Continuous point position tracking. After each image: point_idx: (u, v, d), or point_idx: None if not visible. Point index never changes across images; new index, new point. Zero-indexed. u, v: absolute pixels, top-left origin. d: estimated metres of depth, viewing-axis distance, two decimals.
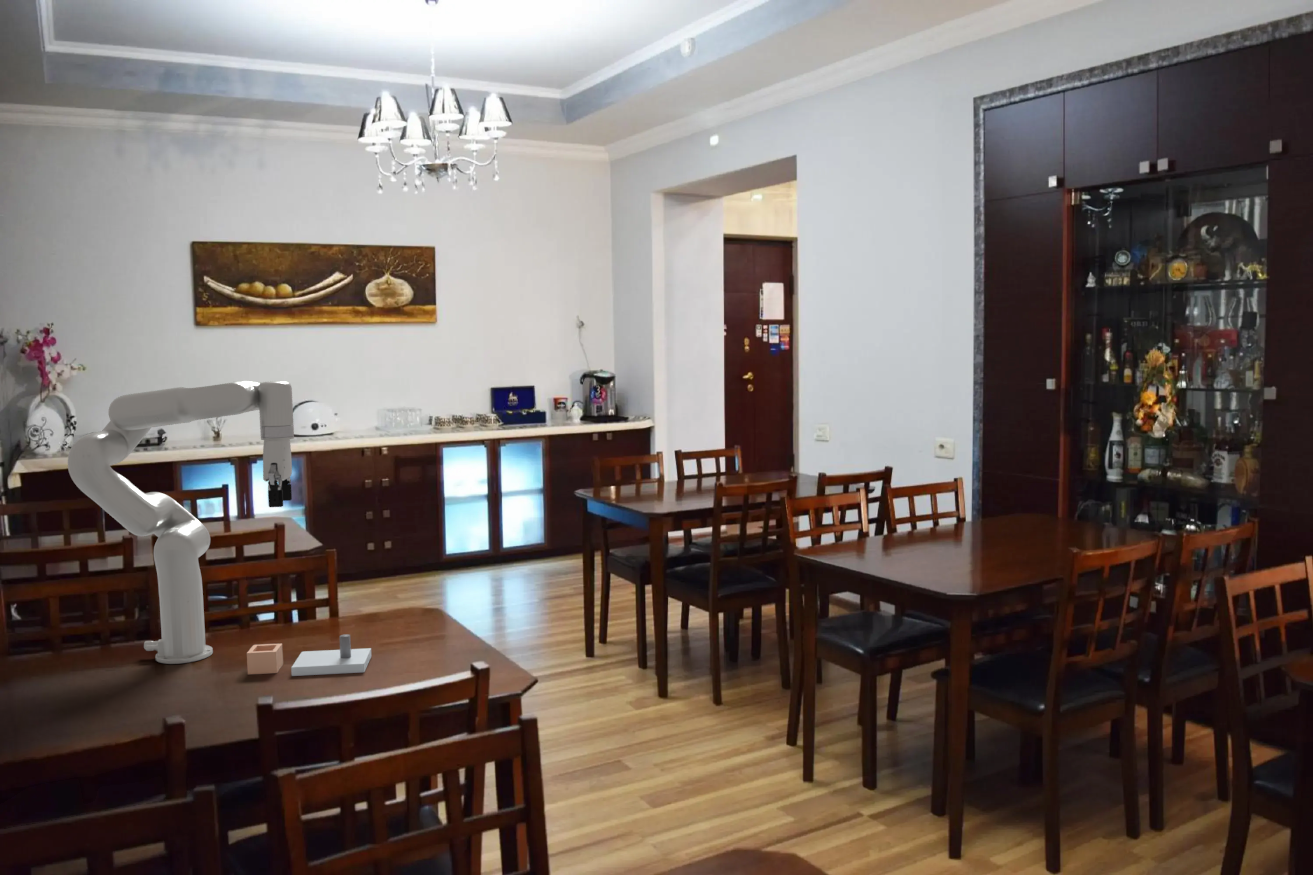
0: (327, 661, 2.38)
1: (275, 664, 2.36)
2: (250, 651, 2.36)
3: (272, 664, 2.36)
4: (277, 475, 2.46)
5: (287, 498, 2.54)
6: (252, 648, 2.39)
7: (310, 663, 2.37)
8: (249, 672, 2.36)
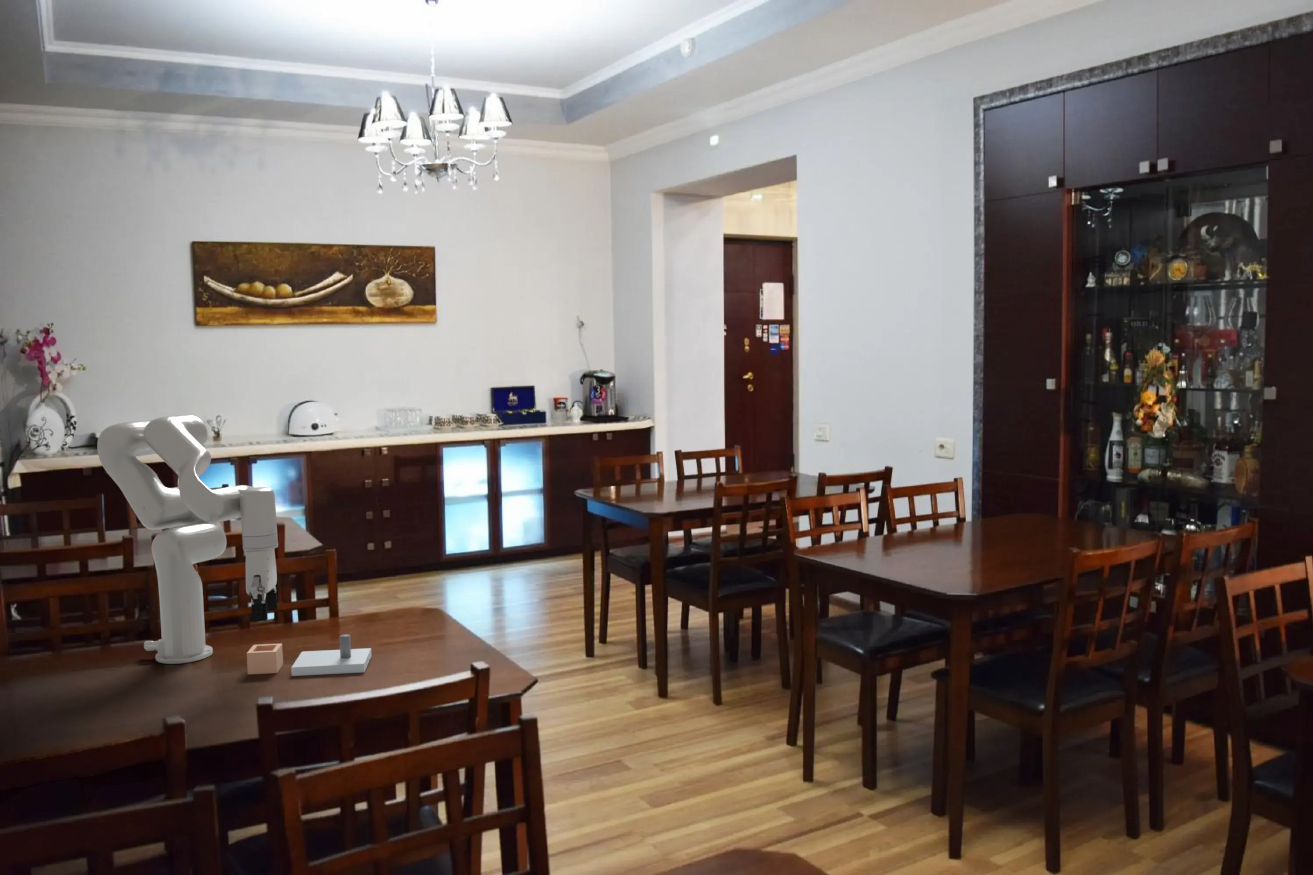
0: (327, 661, 2.38)
1: (275, 664, 2.36)
2: (250, 651, 2.36)
3: (272, 664, 2.36)
4: (261, 587, 2.34)
5: (272, 608, 2.42)
6: (252, 648, 2.39)
7: (310, 663, 2.37)
8: (249, 672, 2.36)
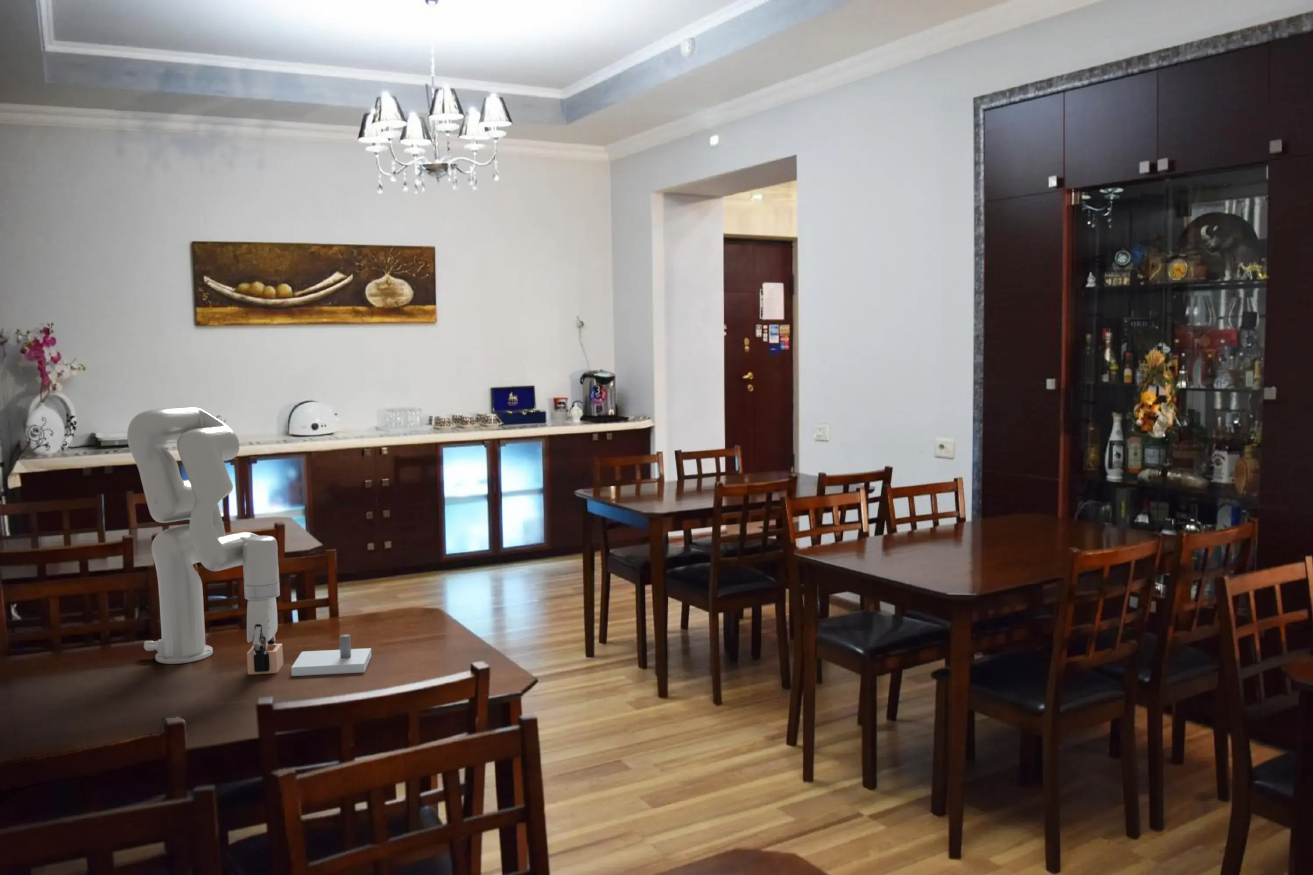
0: (327, 661, 2.38)
1: (275, 664, 2.36)
2: (250, 651, 2.36)
3: (272, 664, 2.36)
4: (262, 636, 2.35)
5: None
6: (252, 648, 2.39)
7: (310, 663, 2.37)
8: (249, 672, 2.36)
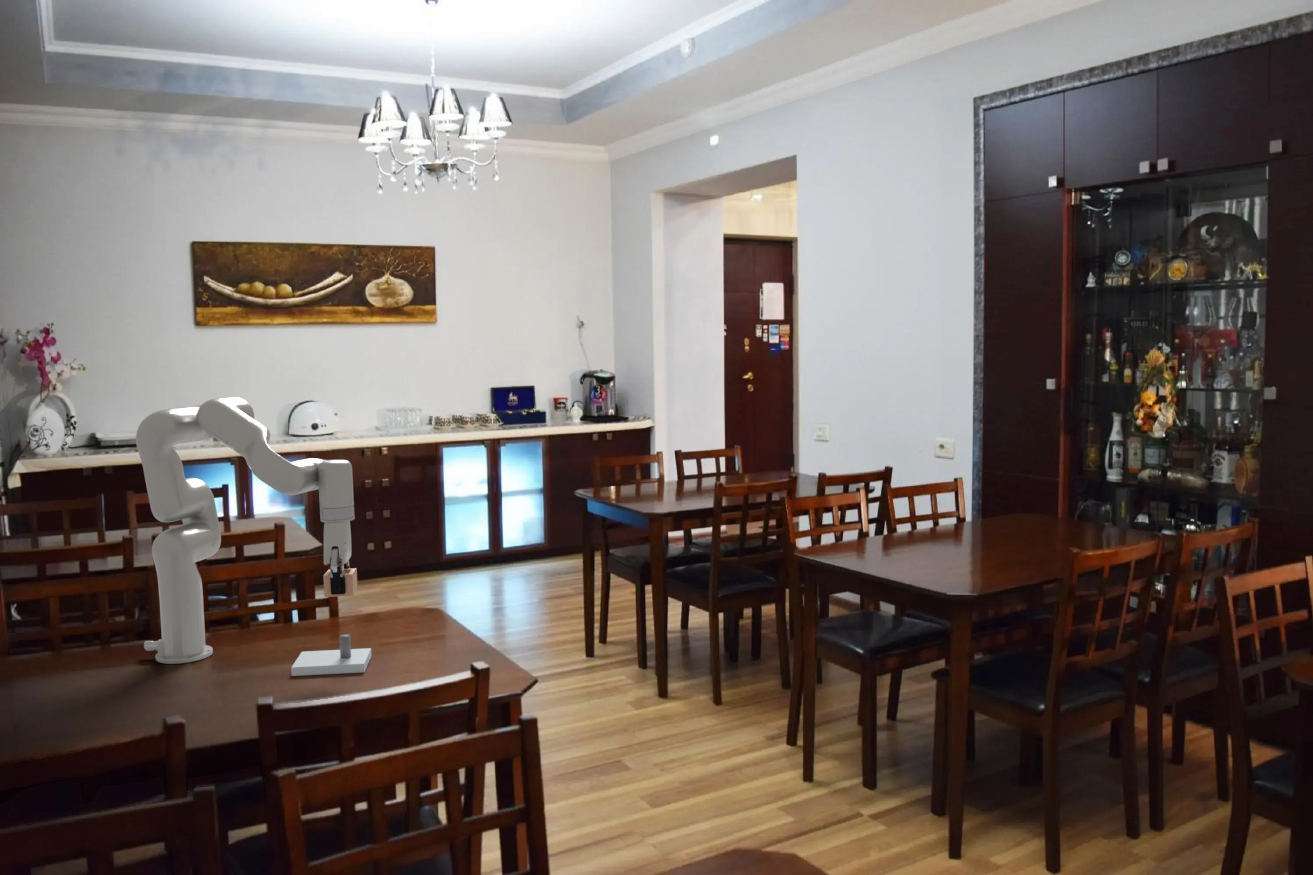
0: (327, 661, 2.38)
1: (351, 587, 2.37)
2: (326, 574, 2.37)
3: (349, 587, 2.37)
4: (338, 558, 2.36)
5: None
6: (328, 572, 2.39)
7: (310, 663, 2.37)
8: (326, 595, 2.36)
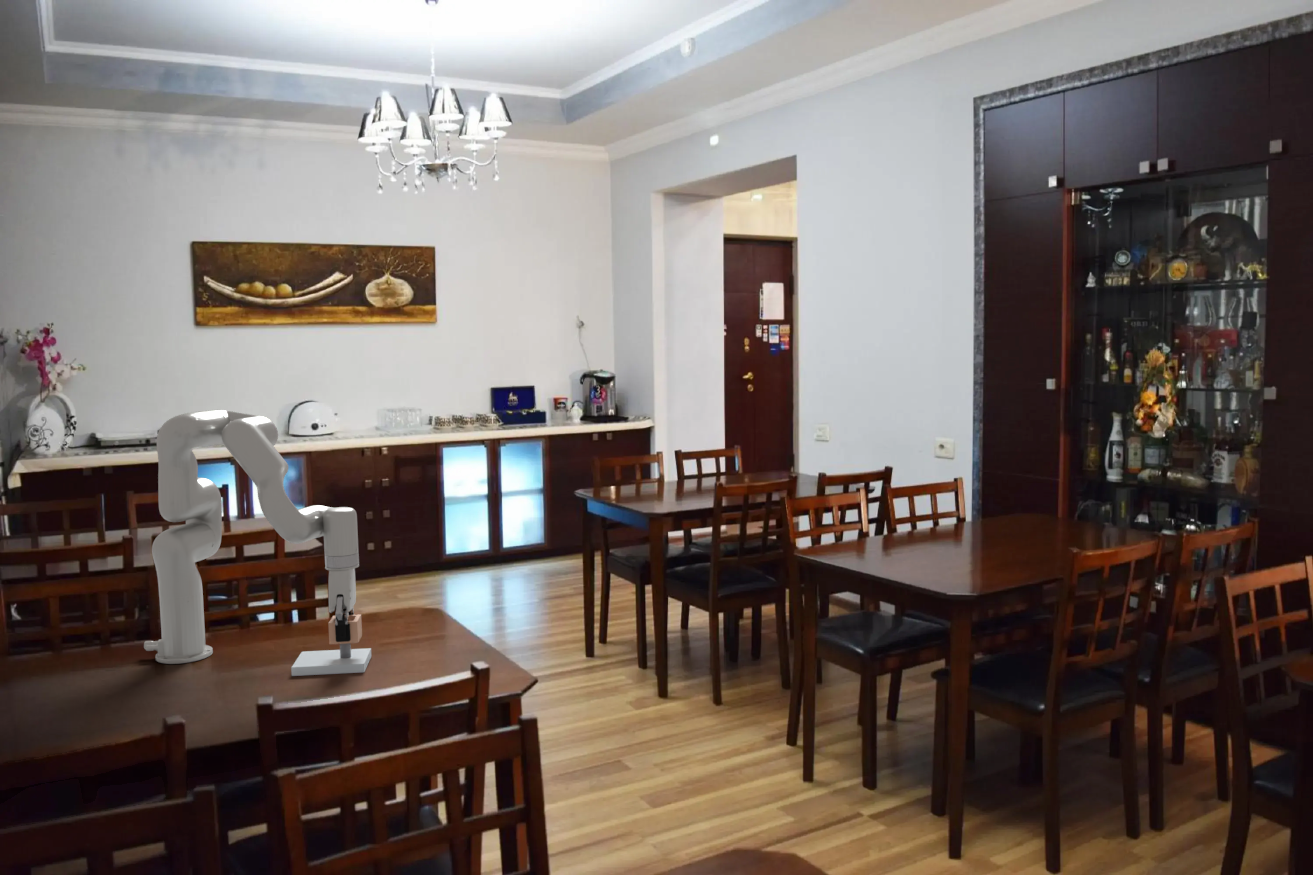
0: (327, 661, 2.38)
1: (356, 634, 2.38)
2: (331, 622, 2.38)
3: (353, 634, 2.38)
4: (343, 606, 2.37)
5: None
6: (332, 619, 2.41)
7: (310, 663, 2.37)
8: (331, 642, 2.38)
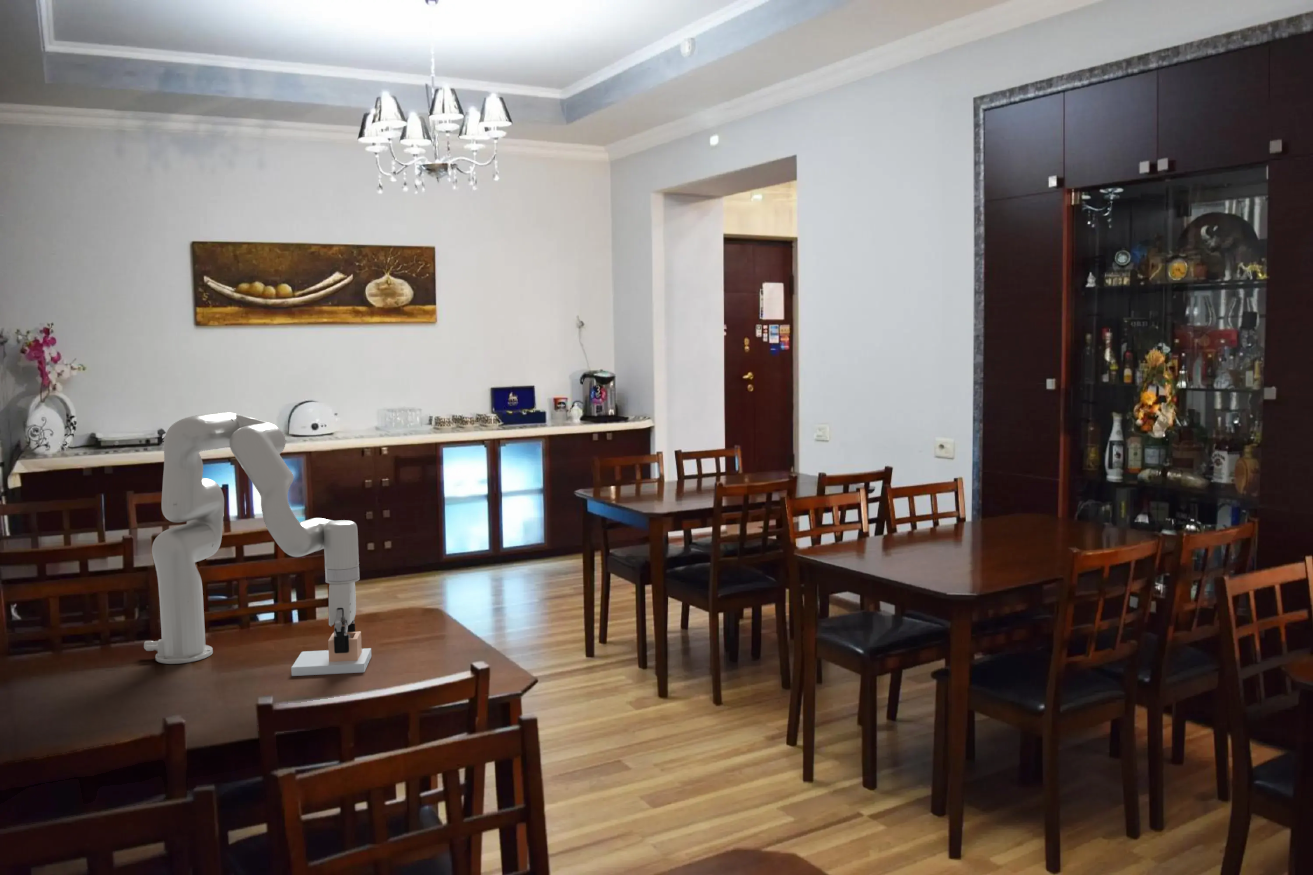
0: (327, 661, 2.38)
1: (356, 651, 2.39)
2: (331, 639, 2.39)
3: (353, 652, 2.39)
4: (343, 619, 2.38)
5: None
6: (332, 636, 2.41)
7: (310, 663, 2.37)
8: (330, 659, 2.38)
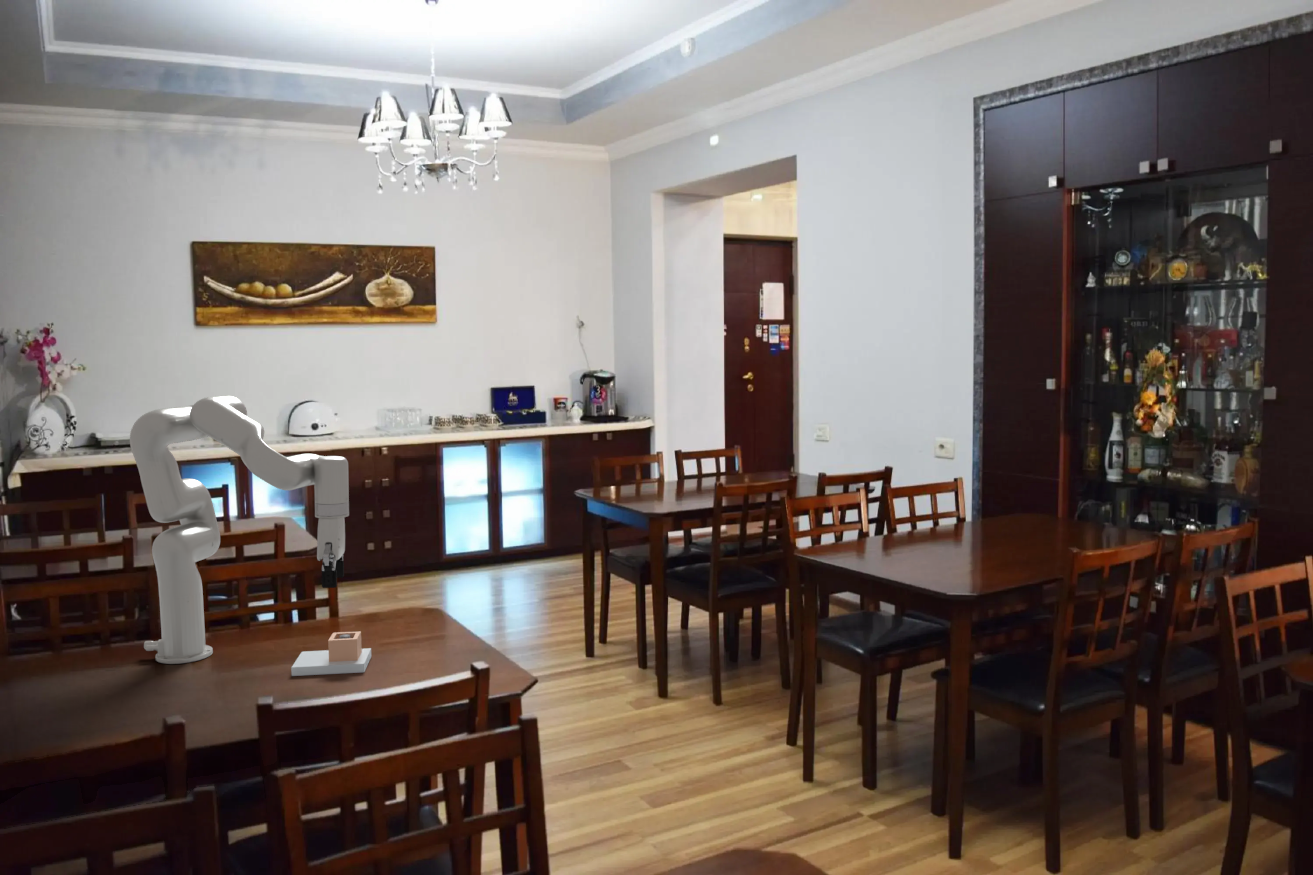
0: (327, 661, 2.38)
1: (356, 651, 2.39)
2: (331, 639, 2.39)
3: (353, 652, 2.39)
4: (331, 554, 2.37)
5: (339, 575, 2.46)
6: (332, 636, 2.41)
7: (310, 663, 2.37)
8: (330, 659, 2.38)
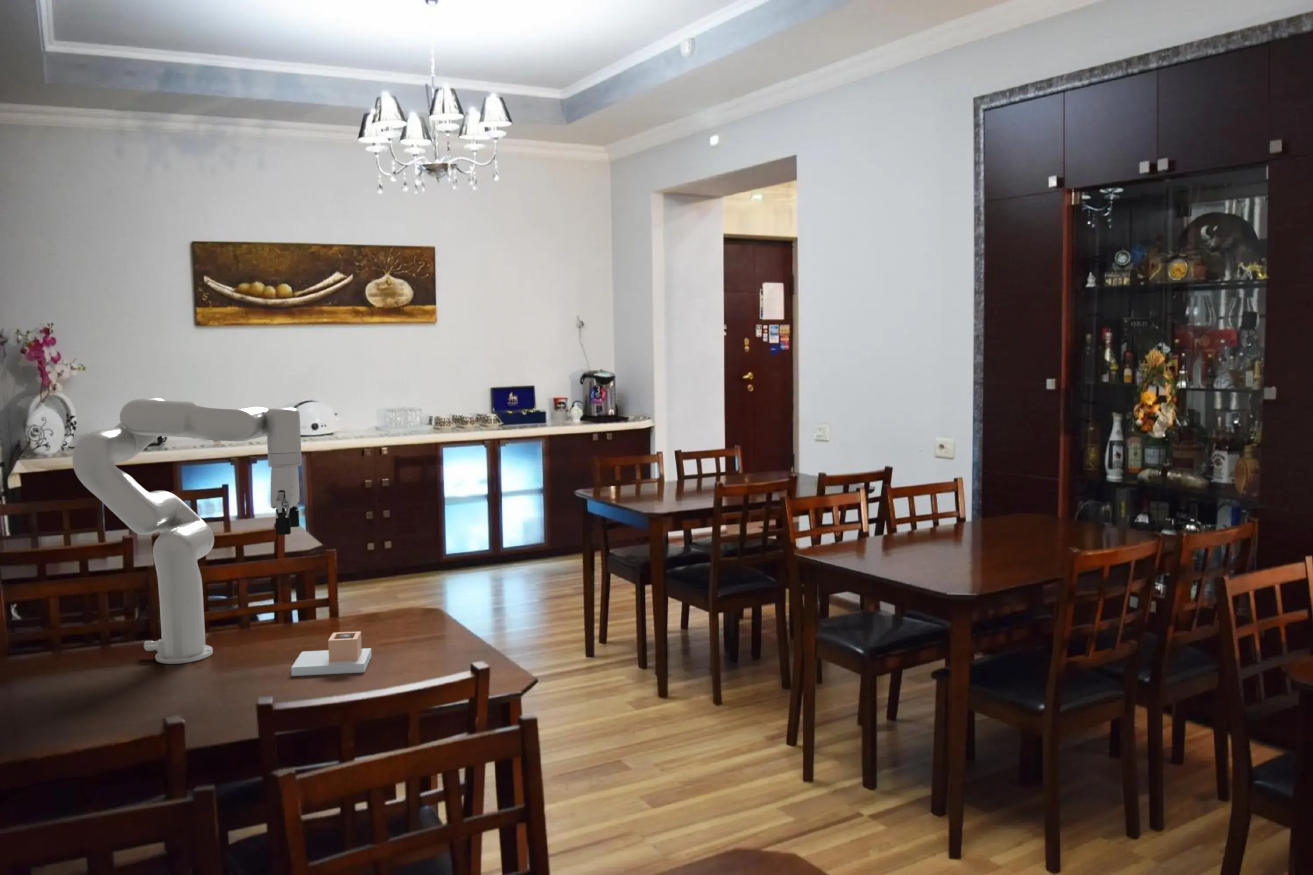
0: (327, 661, 2.38)
1: (356, 651, 2.39)
2: (331, 639, 2.39)
3: (353, 652, 2.39)
4: (285, 502, 2.44)
5: (294, 525, 2.52)
6: (332, 636, 2.41)
7: (310, 663, 2.37)
8: (330, 659, 2.38)
